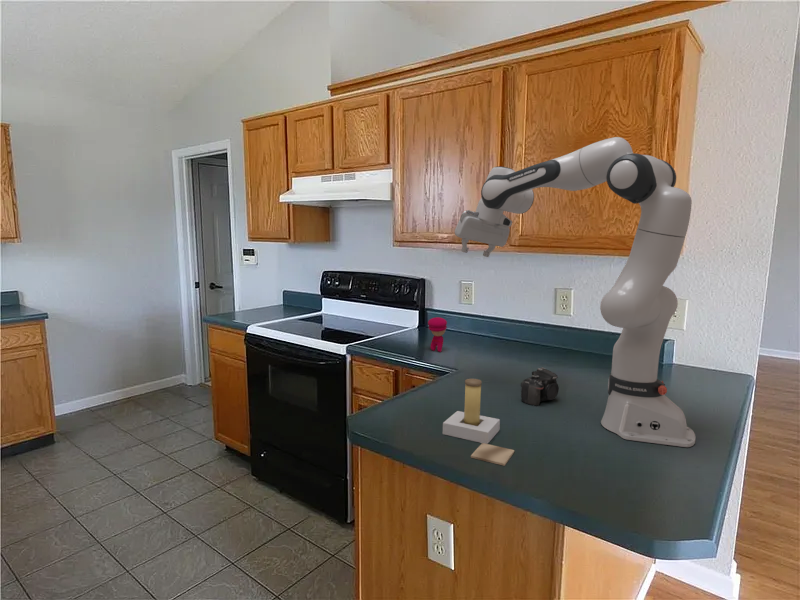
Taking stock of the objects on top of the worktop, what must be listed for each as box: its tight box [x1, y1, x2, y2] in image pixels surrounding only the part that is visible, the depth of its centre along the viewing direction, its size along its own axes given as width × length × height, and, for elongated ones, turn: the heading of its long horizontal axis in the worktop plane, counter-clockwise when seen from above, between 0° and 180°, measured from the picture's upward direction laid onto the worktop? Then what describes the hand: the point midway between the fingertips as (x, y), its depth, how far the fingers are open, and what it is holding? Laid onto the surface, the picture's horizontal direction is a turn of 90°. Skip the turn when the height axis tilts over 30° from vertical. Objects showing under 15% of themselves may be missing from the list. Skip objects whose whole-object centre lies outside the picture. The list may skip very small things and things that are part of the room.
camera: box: [520, 367, 560, 407], centre depth 153 cm, size 13×10×10 cm
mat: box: [470, 443, 515, 467], centre depth 114 cm, size 8×8×1 cm
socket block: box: [442, 410, 501, 444], centre depth 127 cm, size 12×10×3 cm
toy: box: [427, 316, 448, 353], centre depth 213 cm, size 8×8×15 cm
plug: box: [463, 378, 482, 426], centre depth 126 cm, size 4×4×14 cm
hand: (474, 254), depth 167 cm, fingers open, 8 cm apart
